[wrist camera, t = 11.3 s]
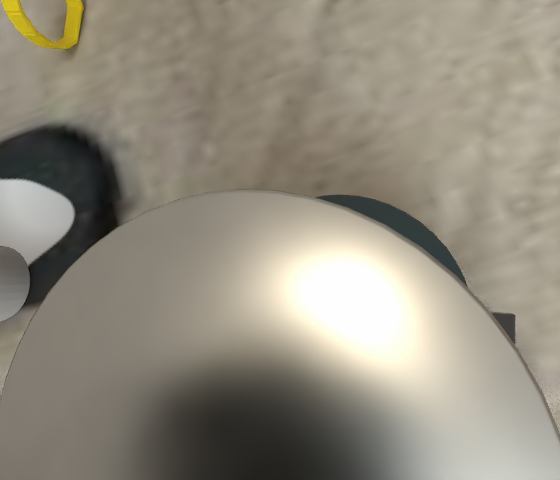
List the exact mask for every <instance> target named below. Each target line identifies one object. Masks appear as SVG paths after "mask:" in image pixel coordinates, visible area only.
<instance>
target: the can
mask: <svg viewBox="0 0 560 480" xmlns="http://www.w3.org/2000/svg"><path fill="white" fill-rule="evenodd" d="M0 480H560V433H559V431H558V428H557V426H556V424H555V421H554V419H553V416H552V414H551V411H550V409H549V407H548V404H547V402H546V399H545V397H544V394H543V392H542V391H541V389H540V387H539V385H538V383H537V382H536V380H535V378H534V376H533V375H532V373H531V371H530V369H529V368H528V366H527V364H526V362H525V361H524V359H523V357H522V355H521V354H520V352H519V350H518V348H517V347H516V346H515V344H514V343H513V342H512V340H511V339H510V338H509V336H508V335H507V334H506V332H505V331H504V330H503V328H502V327H501V326H500V324H499V323H498V322H497V320H496V319H495V317H494V316H493V315H492V313H491V312H490V311H489V309H488V308H487V307H486V306H485V305H484V304H483V303H482V302H481V301H480V300H479V299H478V298H477V297H476V296H475V295H474V294H473V293H472V292H471V291H470V290H469V289H468V287H467V286H466V285H465V284H464V283H463V282H462V281H461V280H460V279H459V278H458V277H457V276H456V275H455V274H454V273H452V272H451V271H450V270H449V269H447V268H446V267H445V266H444V265H443V264H441V263H440V262H439V261H438V260H436V259H435V258H434V257H433V256H431V255H430V254H429V253H428V252H427V251H425V250H424V249H423V248H422V247H420V246H419V245H417V244H415V243H414V242H412V241H411V240H409V239H407V238H406V237H404V236H403V235H401V234H399V233H398V232H396V231H395V230H393V229H391V228H390V227H388V226H386V225H385V224H383V223H381V222H378V221H376V220H374V219H372V218H370V217H367V216H365V215H363V214H361V213H359V212H356V211H354V210H352V209H350V208H348V207H344V206H341V205H338V204H335V203H331V202H328V201H325V200H322V199H318V198H315V197H312V196H306V195H300V194H294V193H288V192H282V191H276V190H249V189H238V190H228V191H218V192H209V193H204V194H200V195H195V196H191V197H187V198H183V199H179V200H175V201H173V202H170V203H167V204H165V205H162V206H160V207H157V208H155V209H152V210H149V211H147V212H144V213H143V214H141V215H139V216H137V217H135V218H134V219H132V220H130V221H128V222H126V223H124V224H123V225H121V226H119V227H117V228H116V229H114V230H113V231H112V232H110V233H109V234H108V235H106V236H105V237H104V238H102V239H101V240H99V241H98V242H97V243H95V244H94V245H93V246H91V247H90V248H89V249H88V250H87V251H86V252H85V253H84V254H83V255H82V256H81V257H80V258H79V259H78V260H77V261H76V262H74V263H73V264H72V265H71V266H70V267H69V268H68V270H67V271H66V272H65V273H64V274H63V276H62V277H61V278H60V279H59V280H58V282H57V283H56V284H55V285H54V286H53V288H52V289H51V290H50V291H49V293H48V294H47V296H46V297H45V299H44V300H43V302H42V304H41V305H40V307H39V308H38V310H37V311H36V313H35V314H34V316H33V317H32V319H31V321H30V323H29V325H28V327H27V329H26V331H25V333H24V335H23V337H22V339H21V341H20V343H19V345H18V347H17V350H16V353H15V355H14V358H13V361H12V363H11V366H10V369H9V371H8V374H7V377H6V380H5V384H4V388H3V392H2V395H1V399H0Z"/></svg>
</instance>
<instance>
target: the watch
mask: <svg viewBox="0 0 560 480" xmlns="http://www.w3.org/2000/svg"><path fill="white" fill-rule="evenodd" d="M1 1H2V4H3V7H4V10H5V12H7V16H8V17H9V18H10V20H11V21H12V22H13V24H14V25H15V27H16V28H17V29H18V31H19V32H20V33H22V35H23V36H24V37H26V38H27V39H29V40H30V41H32V42H33V43H34V44H36V45H37V46H40V47H45V48H52V49H68V48H70V47H72V46H73V45H75V44H77V43H78V37H79V31H80V24H81V19H82V12H83V10H84V8H83V4H82V1H81V0H66V3H67V6H68V9H67V15H66V22H65V29H64V35H63V38H62V39H60V40H58V41H56V42H51V41H50V40H48V39H47V38H46V37H44V36H43V35H42V34H40V33H39V32H38V31H36V29H35V28H34V26H33V25H32V24H31V22H30V21H29V19H28V18H27V16H26V15H25V13H24V12H23V9H22V6H21V3H20V0H1Z"/></svg>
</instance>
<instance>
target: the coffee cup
mask: <svg viewBox="0 0 560 480" xmlns="http://www.w3.org/2000/svg"><path fill="white" fill-rule="evenodd" d="M29 287H30V274H29V269H28V266H27V263H26V261H25V260H24V258H23V257H22V256H21V255H20V253H18V252H17V251H16V250H14V249H11V248H9V247H3V246H0V321H3V320H6V319H8V318H10V317H12V316H13V315H15V314H16V313H17V312H18V311H19V310H20V309H21V307H22V306H23V304H24V302H25V300H26V298H27V295H28V292H29Z"/></svg>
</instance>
